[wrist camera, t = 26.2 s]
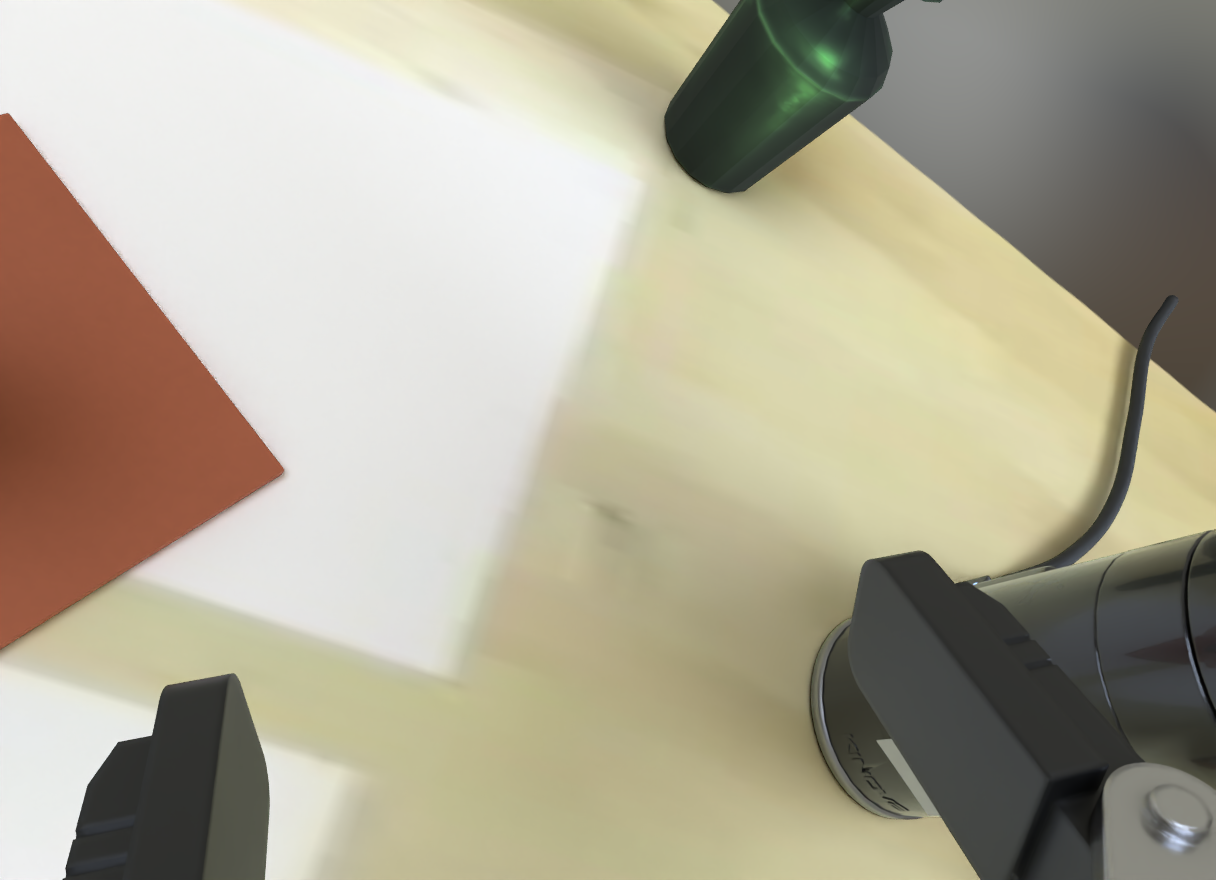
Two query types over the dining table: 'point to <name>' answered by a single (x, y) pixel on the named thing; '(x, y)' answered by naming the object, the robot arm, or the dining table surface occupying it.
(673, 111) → the potion bottle
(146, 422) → the mat
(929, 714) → the robot arm
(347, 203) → the dining table surface
